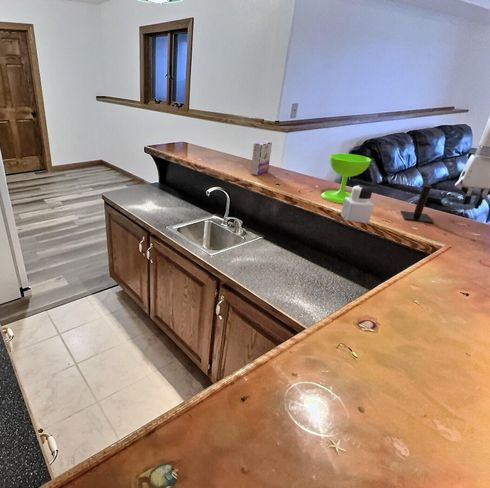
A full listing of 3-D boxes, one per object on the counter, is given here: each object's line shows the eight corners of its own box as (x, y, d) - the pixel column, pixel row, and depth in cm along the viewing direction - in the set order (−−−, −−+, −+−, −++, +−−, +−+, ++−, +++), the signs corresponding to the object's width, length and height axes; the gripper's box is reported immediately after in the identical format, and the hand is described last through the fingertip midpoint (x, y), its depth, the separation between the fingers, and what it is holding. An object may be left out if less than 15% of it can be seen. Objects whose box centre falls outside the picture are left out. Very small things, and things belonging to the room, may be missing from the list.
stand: (426, 217, 137) (438, 184, 131) (431, 226, 129) (445, 191, 123) (399, 214, 140) (410, 181, 134) (404, 222, 132) (416, 187, 126)
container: (360, 216, 136) (369, 184, 131) (368, 224, 130) (378, 190, 124) (340, 215, 137) (348, 183, 131) (347, 223, 130) (356, 189, 124)
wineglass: (339, 190, 166) (349, 152, 157) (368, 201, 152) (380, 160, 144) (313, 194, 160) (321, 154, 152) (340, 205, 147) (351, 163, 139)
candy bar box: (260, 170, 197) (264, 140, 190) (268, 172, 194) (272, 142, 187) (249, 174, 190) (253, 143, 183) (257, 175, 187) (262, 144, 179)
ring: (468, 203, 122) (470, 198, 121) (478, 211, 114) (480, 206, 113) (437, 200, 125) (439, 195, 124) (445, 208, 117) (446, 203, 117)
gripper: (518, 151, 111) (494, 206, 119) (457, 148, 116) (438, 200, 124) (529, 156, 105) (504, 213, 112) (464, 152, 110) (444, 207, 118)
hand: (469, 206), depth 118 cm, fingers closed on ring, 2 cm apart
